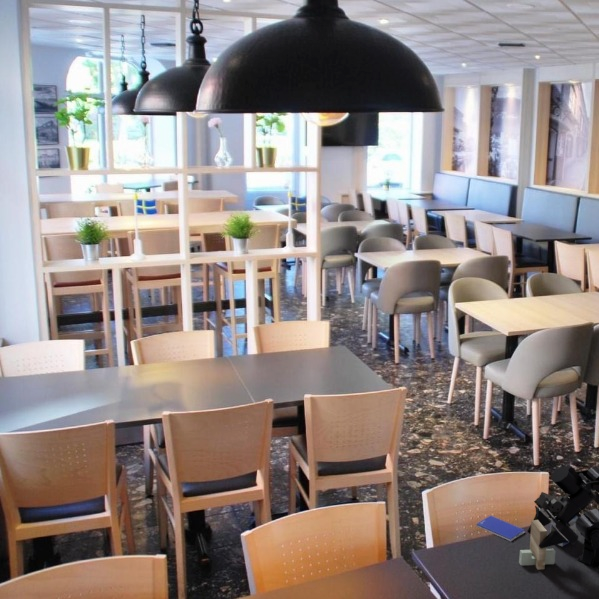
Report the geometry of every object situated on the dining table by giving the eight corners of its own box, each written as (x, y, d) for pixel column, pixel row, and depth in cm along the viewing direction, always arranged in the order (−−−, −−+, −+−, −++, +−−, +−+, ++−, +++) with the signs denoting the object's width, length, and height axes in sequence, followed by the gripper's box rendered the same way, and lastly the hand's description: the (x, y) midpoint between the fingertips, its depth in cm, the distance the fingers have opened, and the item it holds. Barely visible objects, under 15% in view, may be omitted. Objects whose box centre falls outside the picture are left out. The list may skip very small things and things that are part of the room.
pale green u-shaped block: (551, 561, 231) (553, 548, 230) (554, 564, 229) (555, 551, 228) (518, 562, 230) (519, 550, 229) (521, 565, 228) (522, 553, 227)
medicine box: (562, 547, 238) (564, 521, 237) (548, 541, 242) (551, 515, 240) (575, 538, 244) (578, 512, 242) (562, 533, 247) (564, 507, 245)
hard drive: (476, 523, 250) (510, 538, 241) (491, 514, 256) (525, 529, 247) (476, 527, 250) (510, 543, 242) (490, 519, 256) (524, 533, 247)
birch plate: (535, 557, 233) (537, 519, 230) (544, 569, 226) (547, 530, 224) (529, 557, 232) (531, 520, 230) (537, 569, 226) (540, 531, 224)
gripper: (543, 471, 234) (504, 507, 235) (571, 500, 216) (529, 539, 217) (566, 494, 236) (528, 530, 237) (596, 525, 218) (554, 563, 219)
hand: (534, 539), depth 228 cm, fingers open, 8 cm apart
